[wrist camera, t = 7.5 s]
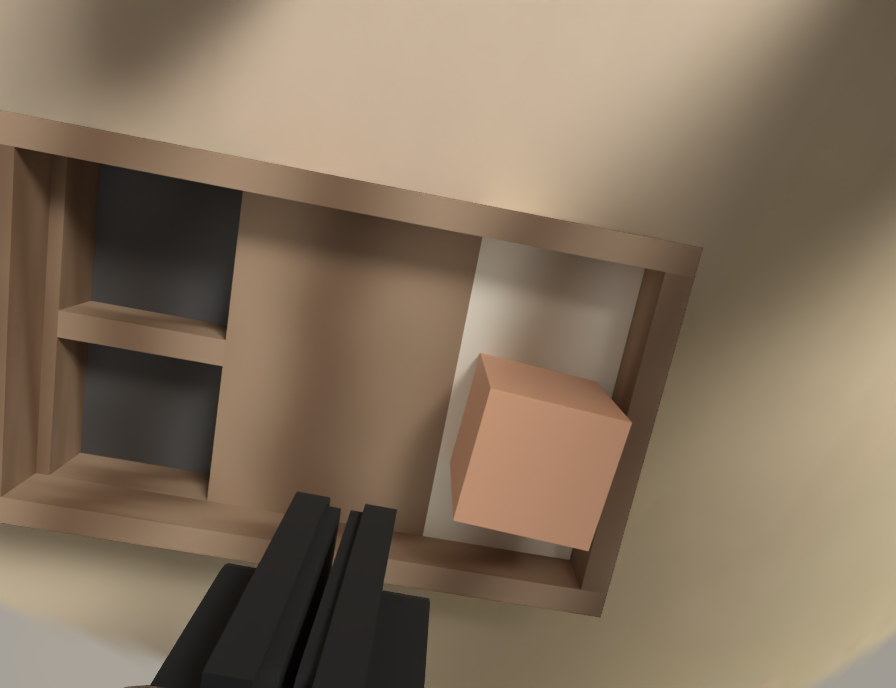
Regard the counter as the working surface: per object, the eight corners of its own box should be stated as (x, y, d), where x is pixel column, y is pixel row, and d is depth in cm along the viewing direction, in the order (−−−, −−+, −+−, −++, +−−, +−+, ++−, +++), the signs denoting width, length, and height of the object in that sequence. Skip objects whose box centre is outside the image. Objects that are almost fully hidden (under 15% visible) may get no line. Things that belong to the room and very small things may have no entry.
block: (595, 381, 24) (632, 422, 19) (561, 488, 25) (588, 551, 20) (480, 352, 23) (490, 388, 19) (449, 462, 24) (453, 520, 20)
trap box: (655, 239, 25) (702, 247, 21) (574, 551, 28) (600, 617, 24) (66, 123, 24) (-18, 106, 19) (47, 465, 27) (-30, 518, 22)
